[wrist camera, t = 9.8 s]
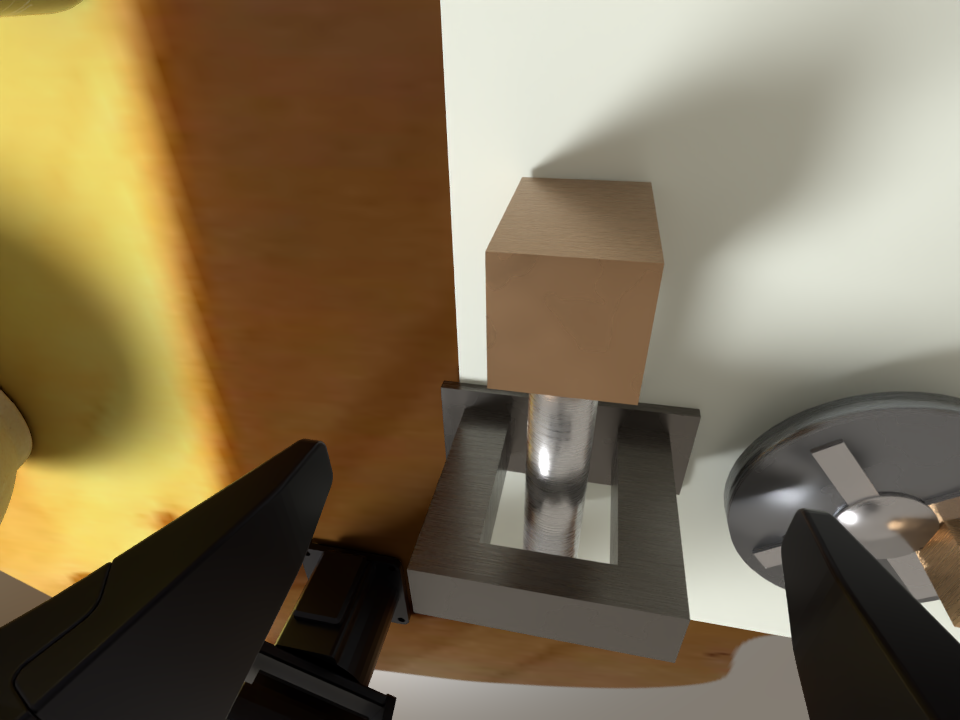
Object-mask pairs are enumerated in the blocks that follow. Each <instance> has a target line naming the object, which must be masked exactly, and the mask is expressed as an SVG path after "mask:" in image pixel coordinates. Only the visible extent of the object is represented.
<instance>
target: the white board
mask: <svg viewBox="0 0 960 720" xmlns="http://www.w3.org/2000/svg"><path fill="white" fill-rule="evenodd" d="M440 3H441V22H442V42H443V62H444V81H445V101H446V120H447V140H448V160H449V179H450V199H451V218H452V238H453V258H454V277H455V297H456V317H457V336H458V356H459V375H460V382H461V383H470V384H479V385H487V341H486V275H485V251H486V249H487V247H488V245H489V243H490V241H491V239H492V237H493V235H494V233H495V231H496V229H497V227H498V225H499V223H500V221H501V219H502V217H503V215H504V213H505V211H506V209H507V207H508V205H509V203H510V201H511V199H512V197H513V194H514V192H515V190H516V188H517V186H518V184H519V182H520V180H521V178H522V177H534V178H558V179H583V180H608V181H633V182H651V184H652V190H653V196H654V202H655V208H656V214H657V221H658V227H659V233H660V239H661V245H662V251H663V258H664V268H663V274H662V279H661V284H660V290H659V295H658V300H657V306H656V311H655V316H654V322H653V327H652V332H651V338H650V343H649V348H648V354H647V359H646V364H645V370H644V375H643V380H642V386H641V391H640V396H639V402H640V403H649V404H658V405H667V406H676V407H685V408H694V409H700V415H701V419H700V423H699V426H698V430H697V433H696V437H695V441H694V444H693V448H692V451H691V455H690V459H689V462H688V466H687V470H686V473H685V477H684V480H683V484H682V488H681V491H680V495H676V497H677V506H678V515H679V524H680V533H681V542H682V551H683V559H684V568H685V577H686V586H687V595H688V604H689V613H690V620H696V621H702V622H707V623H713V624H718V625H724V626H730V627H735V628H741V629H746V630H752V631H758V632H763V633H769V634H774V635H780V636H786V637H791V631H790V623H789V615H788V607H787V599H786V591H785V589H783V588H781V587H778V586H776V585H774V584H773V583H771V582H769V581H768V580H766V579H764V578H763V577H761V576H760V575H759V574H757V573H756V572H755V571H753V570H752V569H751V568H750V567H749V566H748V565H747V564H746V563H745V562H744V561H743V559H742V558H741V557H740V555H739V554H738V552H737V551H736V549H735V547H734V545H733V543H732V540H731V536H730V532H729V528H728V523H727V518H726V513H725V508H724V490H725V483H726V481H727V478H728V475H729V472H730V470H731V469H732V467H733V465H734V464H735V462H736V460H737V459H738V458H739V456H740V455H741V454H742V453H743V451H744V450H745V449H746V448H747V447H748V446H749V445H750V444H751V443H752V442H753V441H754V440H756V439H757V438H758V437H759V436H760V435H762V434H763V433H765V432H766V431H767V430H769V429H770V428H771V427H773V426H775V425H776V424H778V423H780V422H782V421H783V420H785V419H787V418H789V417H791V416H793V415H795V414H798V413H800V412H802V411H804V410H806V409H809V408H812V407H815V406H818V405H821V404H824V403H827V402H830V401H834V400H838V399H842V398H846V397H851V396H857V395H863V394H870V393H880V392H894V391H906V392H926V393H935V394H943V395H948V396H953V397H957V398H960V0H440ZM525 477H526V474H525V473H518V472H511V471H507V473H506V477H505V481H504V486H503V490H502V494H501V499H500V503H499V507H498V512H497V516H496V521H495V525H494V529H493V534H492V538H491V542H490V544H493V545H499V546H505V547H511V548H517V549H523V527H524V502H525ZM610 513H611V485H604V484H597V483H590V482H587V488H586V496H585V503H584V511H583V518H582V526H581V533H580V541H579V548H578V556H577V559H583V560H589V561H596V562H602V563H608V564H610ZM921 604H922V605H923V607H924V608H925V609H926V610H927V611H928V612H929V613H930V614H931V615H932V616H933V617H934V618H935V619H936V620H937V621H938V622H939V623H940V624H941V625H942V626H943V627H944V628H945V629H946V630H947V631H948V632H949V633H950V634H951V635H952V636H953V637H954V638H955V639H956V640H957V641H958V642H959V643H960V628H958V627H954V625H953V623H952V622H951V620H950V618H949V616H948V614H947V612H946V610H945V608H944V606H943V604H942V602H941V600H936V601H930V602H924V603H921Z"/></svg>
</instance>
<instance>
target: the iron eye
mask: <svg viewBox="0 0 960 720" xmlns="http://www.w3.org/2000/svg"><path fill="white" fill-rule="evenodd" d="M441 396H442V409H443V422H444V435H445V448H446V462H445V465H444V468H443V471H442V473H441V476H440V479H439V482H438V484H437V487H436V490H435V493H434V496H433V498H432V501H431V504H430V507H429V509H428V512H427V515H426V518H425V520H424V523H423V526H422V529H421V532H420V534H419V537H418V540H417V543H416V545H415V548H414V551H413V554H412V556H411V559H410V562H409V565H408V567H407V573H408V579H409V586H410V592H411V598H412V605H413V611H414V613H419V614H425V615H430V616H435V617H440V618H445V619H451V620H456V621H461V622H466V623H471V624H476V625H482V626H487V627H492V628H497V629H502V630H507V631H513V632H518V633H523V634H528V635H533V636H538V637H544V638H549V639H554V640H559V641H564V642H569V643H575V644H580V645H585V646H590V647H595V648H601V649H606V650H611V651H616V652H621V653H626V654H632V655H637V656H642V657H647V658H652V659H657V660H663V661H668V662H673V663H675V660H676V658H677V655H678V652H679V649H680V647H681V644H682V641H683V638H684V636H685V633H686V630H687V627H688V625H689V622H690V613H689V604H688V595H687V586H686V577H685V568H684V559H683V551H682V542H681V533H680V524H679V515H678V506H677V497H676V495H680V491H681V488H682V484H683V480H684V477H685V473H686V470H687V466H688V462H689V459H690V455H691V451H692V448H693V444H694V441H695V437H696V433H697V430H698V426H699V423H700V419H701V415H700V409H694V408H685V407H676V406H667V405H658V404H649V403H640V402H638V405H631V404H622V403H613V402H604V401H598V406H597V413H596V421H595V428H594V436H593V443H592V451H591V458H590V466H589V473H588V481H587V482H590V483H597V484H604V485H611V513H610V564H608V563H602V562H596V561H589V560H583V559H577V558H571V557H565V556H559V555H553V554H547V553H541V552H535V551H529V550H523V549H517V548H511V547H505V546H499V545H493V544H490V542H491V538H492V534H493V529H494V525H495V521H496V516H497V512H498V507H499V503H500V499H501V494H502V490H503V486H504V481H505V477H506V473H507V471H511V472H518V473H525V474H526V451H527V426H528V401H529V393H524V392H515V391H507V390H498V389H489V388H487V385H479V384H470V383H461V382H452V381H444V382H443V384H442V386H441Z"/></svg>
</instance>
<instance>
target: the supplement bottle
mask: <svg viewBox="0 0 960 720" xmlns="http://www.w3.org/2000/svg"><path fill="white" fill-rule="evenodd" d="M82 1H83V0H0V17H9V16H26V15H42V14H52V13H58V12H62V11H66V10H68V9H70V8H72V7H74V6H76V5H77V4H79V3H80V2H82Z"/></svg>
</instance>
